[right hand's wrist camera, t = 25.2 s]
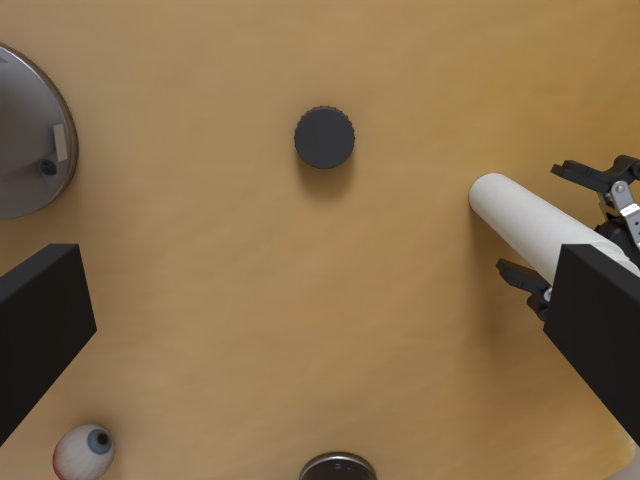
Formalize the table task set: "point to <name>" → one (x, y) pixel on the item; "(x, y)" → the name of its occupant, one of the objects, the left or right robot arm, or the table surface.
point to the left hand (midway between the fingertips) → (527, 220)
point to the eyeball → (84, 453)
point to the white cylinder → (535, 225)
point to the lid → (324, 137)
